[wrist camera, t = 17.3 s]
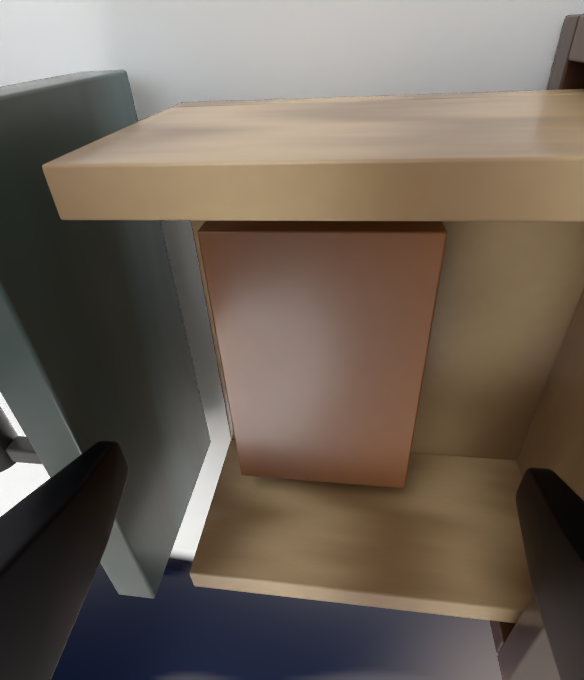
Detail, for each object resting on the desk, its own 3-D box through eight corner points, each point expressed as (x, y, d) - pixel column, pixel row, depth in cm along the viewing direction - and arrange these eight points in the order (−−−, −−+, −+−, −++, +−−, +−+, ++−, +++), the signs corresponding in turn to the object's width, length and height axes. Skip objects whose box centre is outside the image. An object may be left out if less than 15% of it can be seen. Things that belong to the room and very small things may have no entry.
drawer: (77, 432, 19) (-24, 578, 14) (-93, 79, 11) (-453, 124, 6) (519, 463, 17) (587, 652, 12) (688, 44, 9) (1099, 74, 4)
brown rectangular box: (431, 190, 10) (449, 231, 8) (399, 426, 15) (405, 489, 13) (226, 192, 11) (195, 230, 9) (256, 417, 16) (240, 475, 14)
